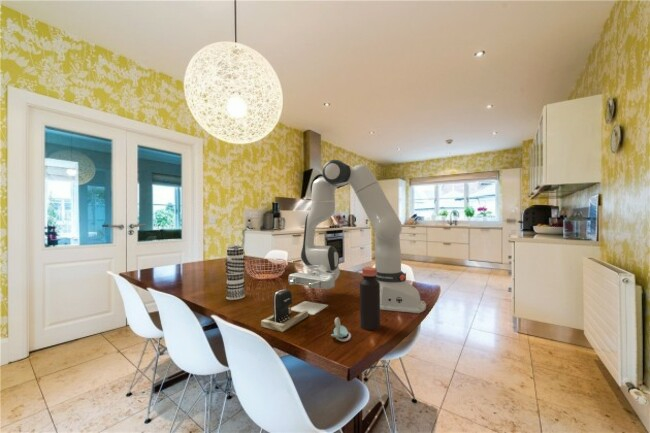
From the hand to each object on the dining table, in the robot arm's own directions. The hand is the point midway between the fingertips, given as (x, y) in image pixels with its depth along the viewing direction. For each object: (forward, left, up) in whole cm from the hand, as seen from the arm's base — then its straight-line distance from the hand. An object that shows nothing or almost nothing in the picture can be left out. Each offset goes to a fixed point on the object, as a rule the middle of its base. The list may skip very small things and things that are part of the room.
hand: (300, 284), depth 105 cm
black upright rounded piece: (-1, +12, -11) cm, 16 cm away
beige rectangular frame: (-1, +10, -11) cm, 15 cm away
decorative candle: (+39, -2, -11) cm, 41 cm away
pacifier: (-24, +13, -11) cm, 30 cm away
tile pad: (-1, -5, -11) cm, 12 cm away
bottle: (-30, +1, -11) cm, 32 cm away
